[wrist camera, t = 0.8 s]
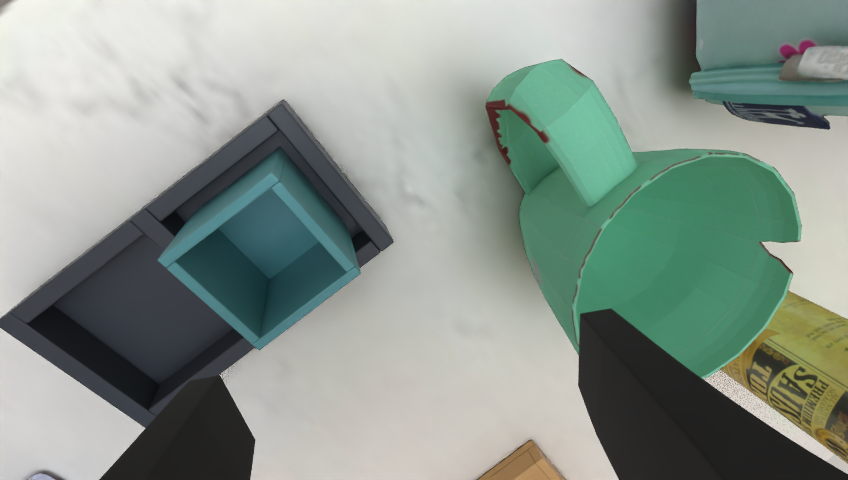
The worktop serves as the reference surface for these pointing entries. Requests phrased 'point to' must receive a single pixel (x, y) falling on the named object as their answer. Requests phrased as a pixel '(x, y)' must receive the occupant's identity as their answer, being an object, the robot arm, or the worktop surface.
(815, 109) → the lunch box
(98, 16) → the worktop surface
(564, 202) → the mug
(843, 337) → the sauce bottle
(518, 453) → the tray
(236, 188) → the tub
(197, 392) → the robot arm
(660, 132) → the worktop surface
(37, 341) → the divided tray
